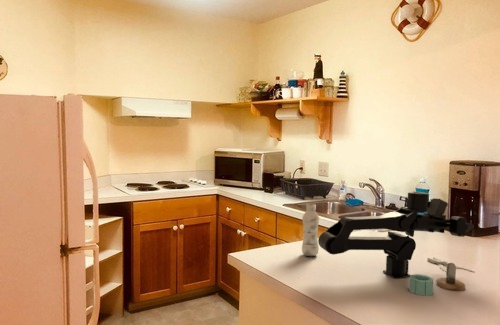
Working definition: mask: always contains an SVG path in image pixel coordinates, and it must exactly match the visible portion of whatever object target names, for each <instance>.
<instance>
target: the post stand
mask: <svg viewBox="0 0 500 325" xmlns="http://www.w3.org/2000/svg"><path fill="white" fill-rule="evenodd" d="M447 263H448V264H447V266H446V267H447V268H446V269H447V270H446V272H445V274H446V275H445V277H440V278H437V279H436V281H435V282H436V285H437V286H438V287H439V288H442V289H444V290H447V289H448V290H449V291H453V292H457V291H458V292H459V291H464V290H465V289H466V284H465V283H464V282H463V281H461V280H458V279H456V277H457V276H456V273H457V268H456V266H455V265H456V264H455V263H453V262H447Z"/></svg>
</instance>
